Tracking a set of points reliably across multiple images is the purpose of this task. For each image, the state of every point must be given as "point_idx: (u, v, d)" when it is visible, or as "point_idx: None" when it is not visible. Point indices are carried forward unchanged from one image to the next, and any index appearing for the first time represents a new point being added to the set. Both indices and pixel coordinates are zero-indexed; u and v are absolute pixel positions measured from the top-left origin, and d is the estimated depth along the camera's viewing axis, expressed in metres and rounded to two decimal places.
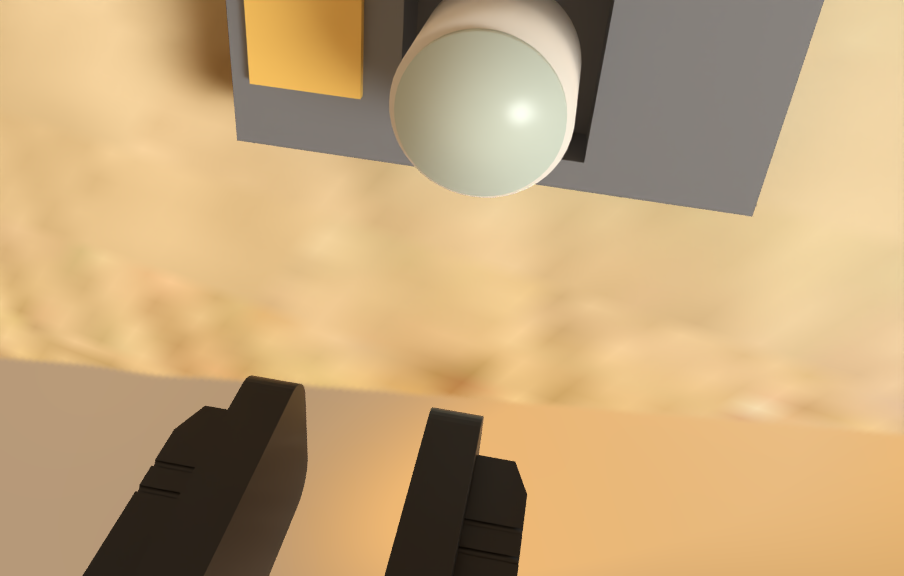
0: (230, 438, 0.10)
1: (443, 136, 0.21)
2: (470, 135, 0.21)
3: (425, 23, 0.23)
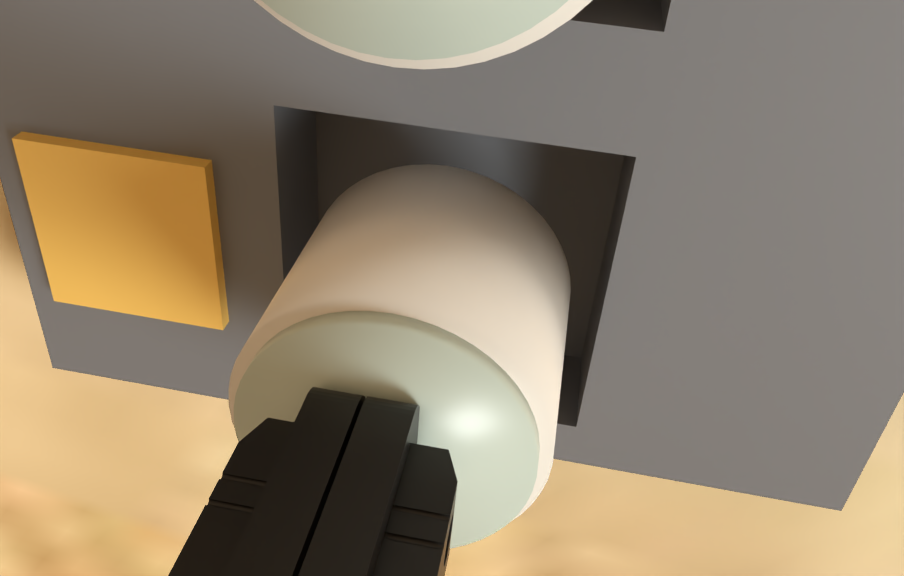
0: (299, 451, 0.10)
1: None
2: None
3: (307, 243, 0.14)
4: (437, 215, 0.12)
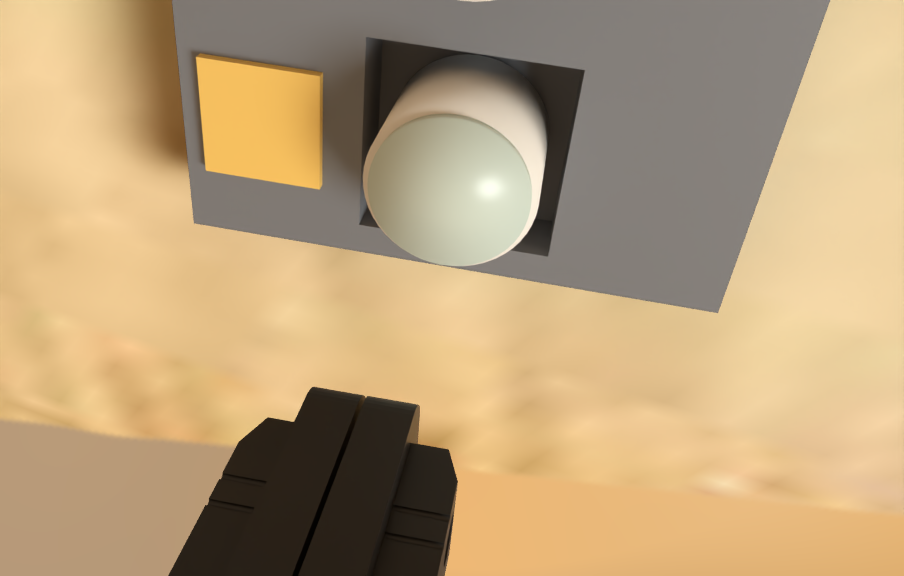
0: (299, 451, 0.10)
1: (414, 210, 0.22)
2: (440, 210, 0.22)
3: (399, 97, 0.24)
4: (477, 76, 0.23)
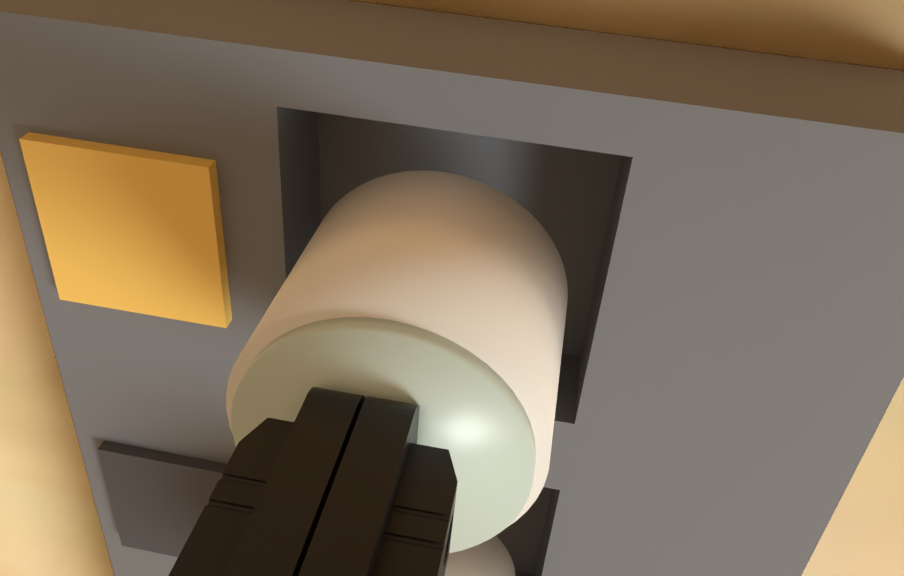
0: (299, 451, 0.10)
1: None
2: None
3: None
4: None
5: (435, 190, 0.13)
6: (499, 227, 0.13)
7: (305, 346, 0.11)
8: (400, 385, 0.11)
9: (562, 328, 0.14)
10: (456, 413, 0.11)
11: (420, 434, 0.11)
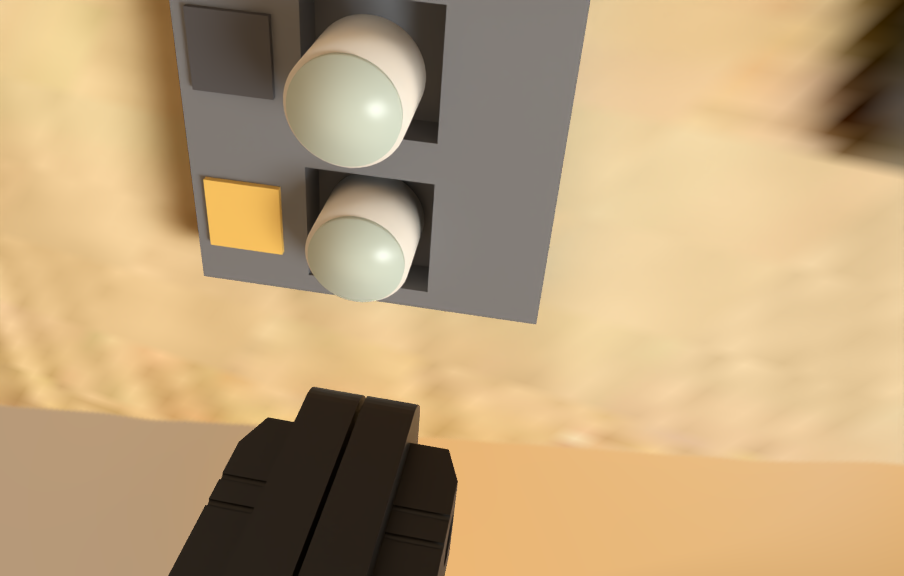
0: (299, 451, 0.10)
1: (336, 270, 0.37)
2: (351, 270, 0.37)
3: None
4: (372, 188, 0.38)
5: None
6: None
7: None
8: None
9: None
10: None
11: None
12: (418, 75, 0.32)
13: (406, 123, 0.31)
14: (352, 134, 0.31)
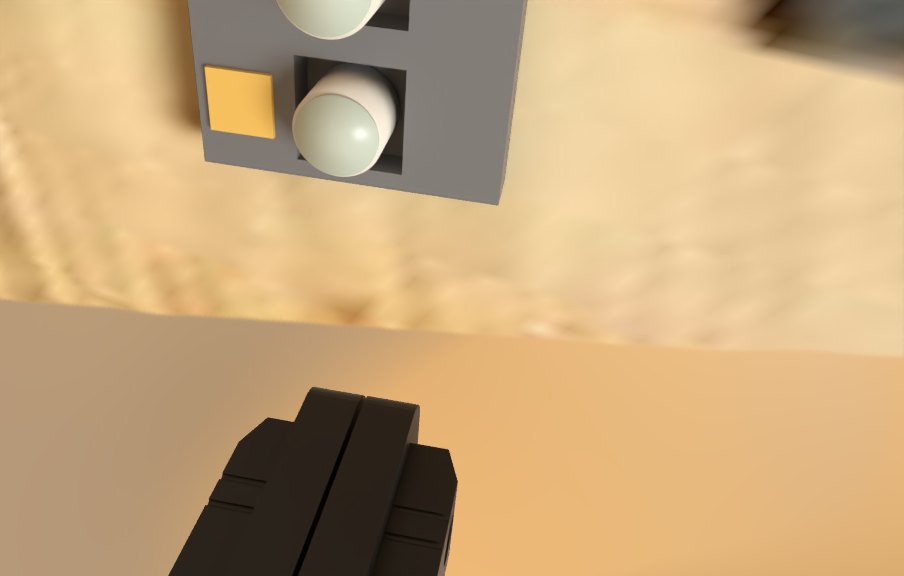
0: (299, 451, 0.10)
1: (319, 145, 0.42)
2: (332, 145, 0.42)
3: None
4: (352, 74, 0.43)
5: None
6: None
7: None
8: None
9: None
10: None
11: None
12: None
13: None
14: (329, 6, 0.36)
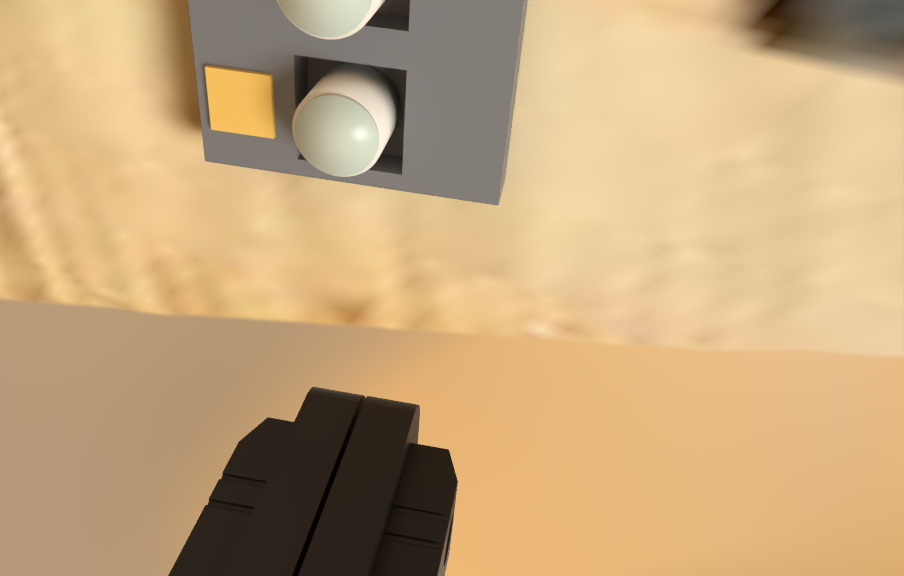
0: (299, 451, 0.10)
1: (319, 145, 0.42)
2: (332, 145, 0.42)
3: None
4: (352, 74, 0.43)
5: None
6: None
7: None
8: None
9: None
10: None
11: None
12: None
13: None
14: (329, 6, 0.36)
